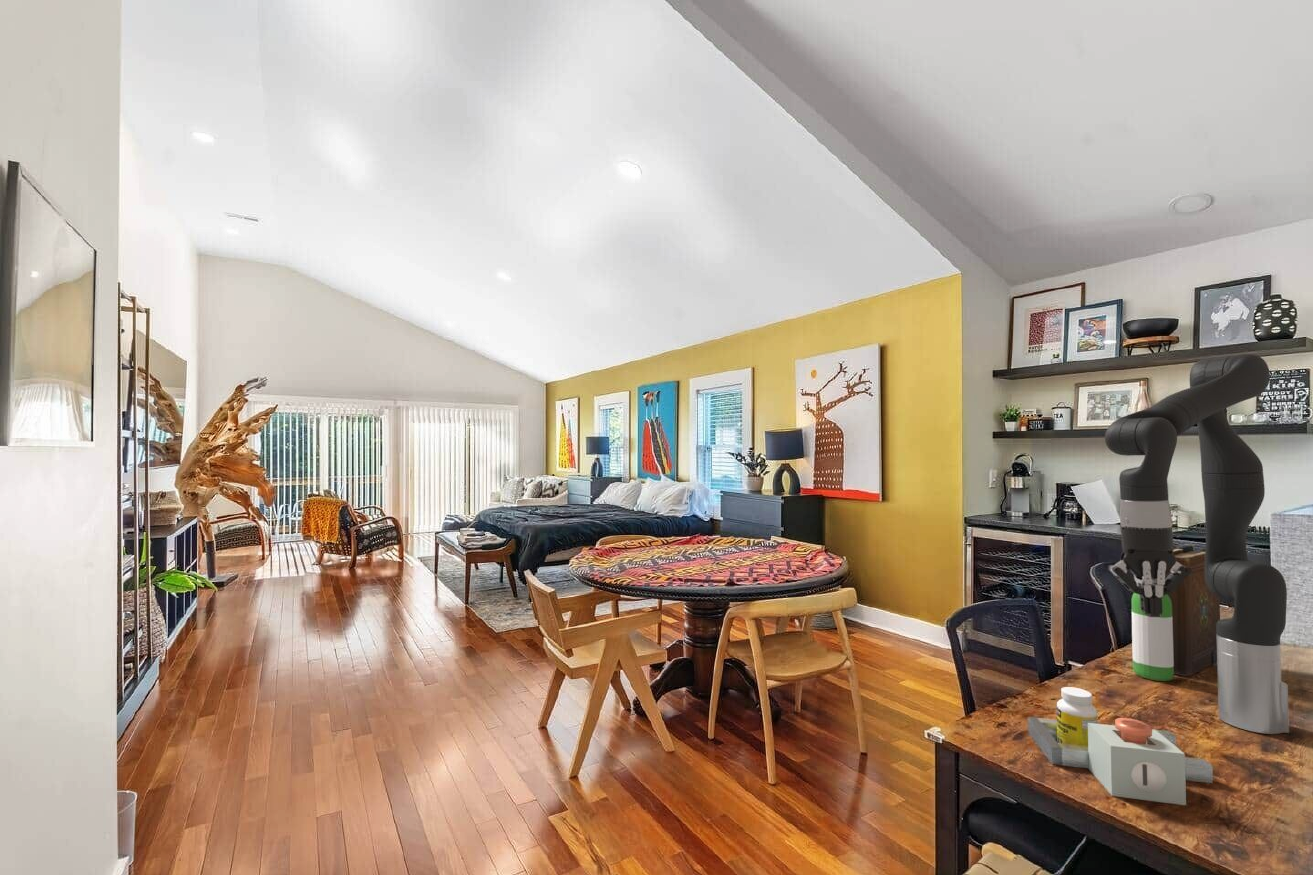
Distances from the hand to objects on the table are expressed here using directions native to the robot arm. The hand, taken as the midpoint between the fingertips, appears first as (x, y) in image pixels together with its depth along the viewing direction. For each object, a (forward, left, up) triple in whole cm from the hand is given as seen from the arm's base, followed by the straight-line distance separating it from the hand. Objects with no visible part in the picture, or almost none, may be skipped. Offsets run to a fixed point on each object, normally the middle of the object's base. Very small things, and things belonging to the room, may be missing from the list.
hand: (1151, 615), depth 111 cm
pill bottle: (+14, +5, -25) cm, 29 cm away
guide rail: (+8, +5, -25) cm, 26 cm away
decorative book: (-32, -53, -25) cm, 66 cm away
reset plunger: (+10, +15, -18) cm, 26 cm away
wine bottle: (-19, -42, -25) cm, 52 cm away
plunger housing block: (+10, +15, -25) cm, 31 cm away
